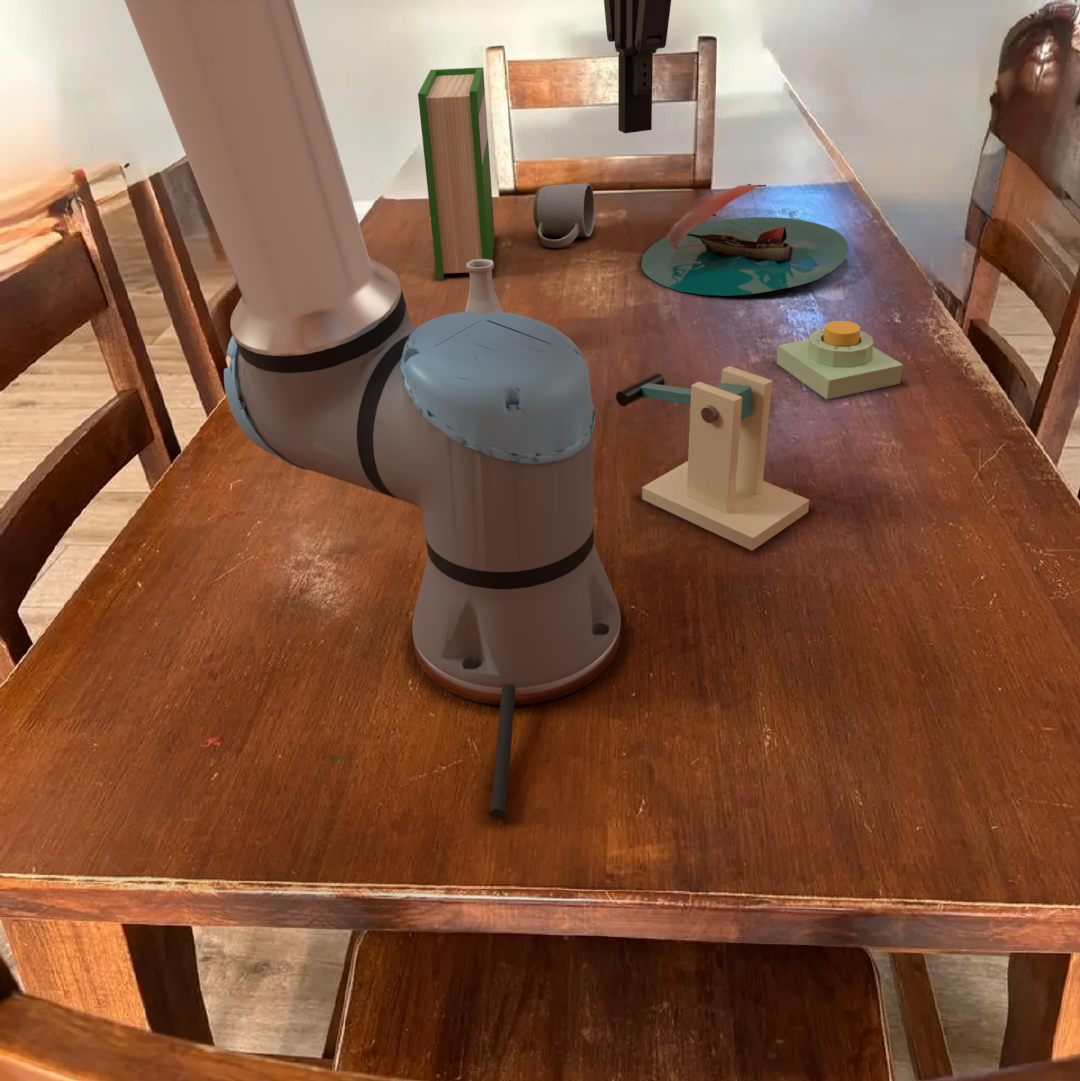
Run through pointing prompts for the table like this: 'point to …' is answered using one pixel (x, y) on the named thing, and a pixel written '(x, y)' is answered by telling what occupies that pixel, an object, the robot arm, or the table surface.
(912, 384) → the table surface
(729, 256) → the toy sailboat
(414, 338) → the robot arm
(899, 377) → the button box
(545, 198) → the ceramic mug
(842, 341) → the button
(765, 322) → the table surface
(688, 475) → the wooden stand
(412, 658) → the table surface
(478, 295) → the flask
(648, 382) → the lever
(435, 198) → the hardback book
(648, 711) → the table surface
